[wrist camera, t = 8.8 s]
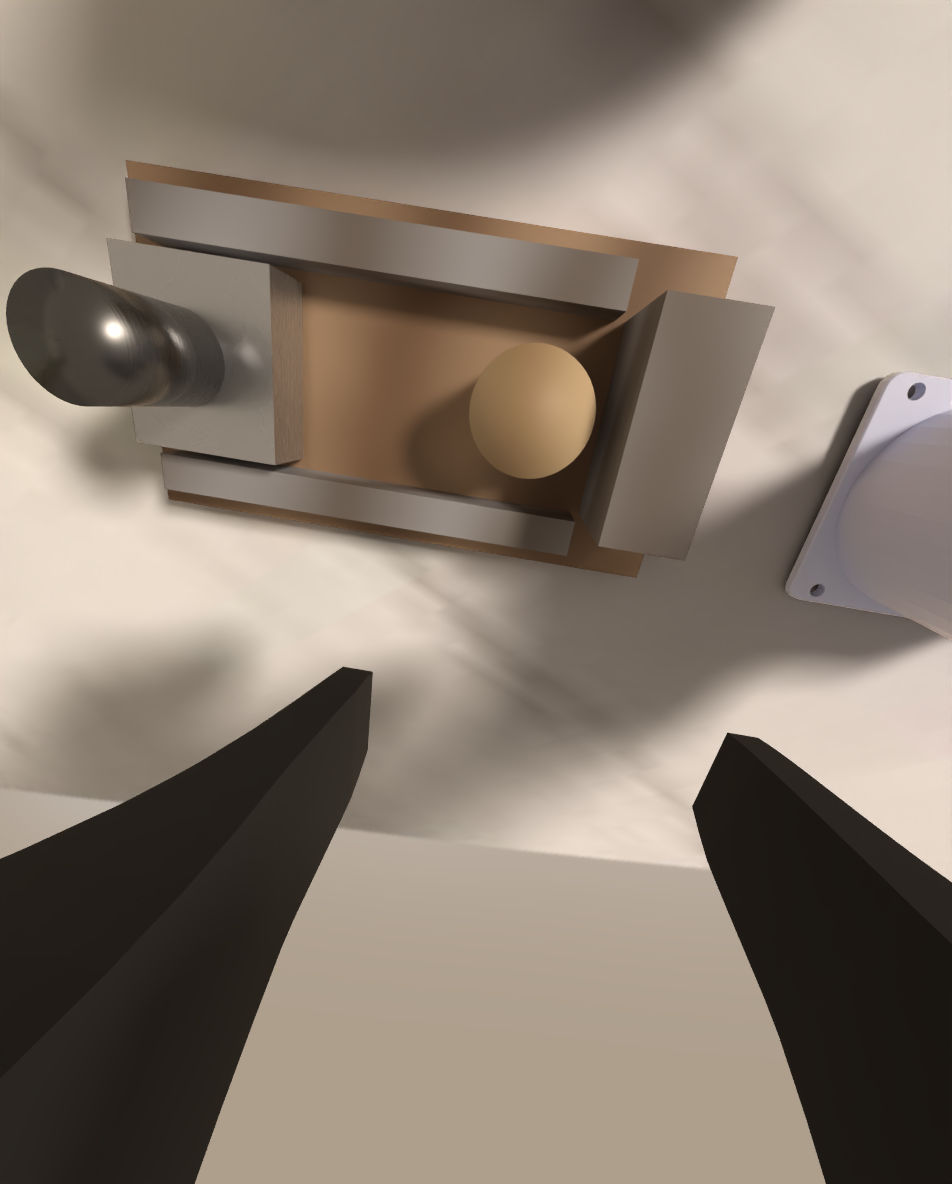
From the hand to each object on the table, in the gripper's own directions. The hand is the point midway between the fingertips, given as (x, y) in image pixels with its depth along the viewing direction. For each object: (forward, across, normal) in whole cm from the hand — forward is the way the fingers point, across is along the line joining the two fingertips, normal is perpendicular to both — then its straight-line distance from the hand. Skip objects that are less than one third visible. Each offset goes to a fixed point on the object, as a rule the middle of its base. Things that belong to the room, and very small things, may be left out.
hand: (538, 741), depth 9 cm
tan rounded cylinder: (+9, +1, -6) cm, 11 cm away
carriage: (+8, +11, -6) cm, 15 cm away
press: (+10, +5, -6) cm, 13 cm away
